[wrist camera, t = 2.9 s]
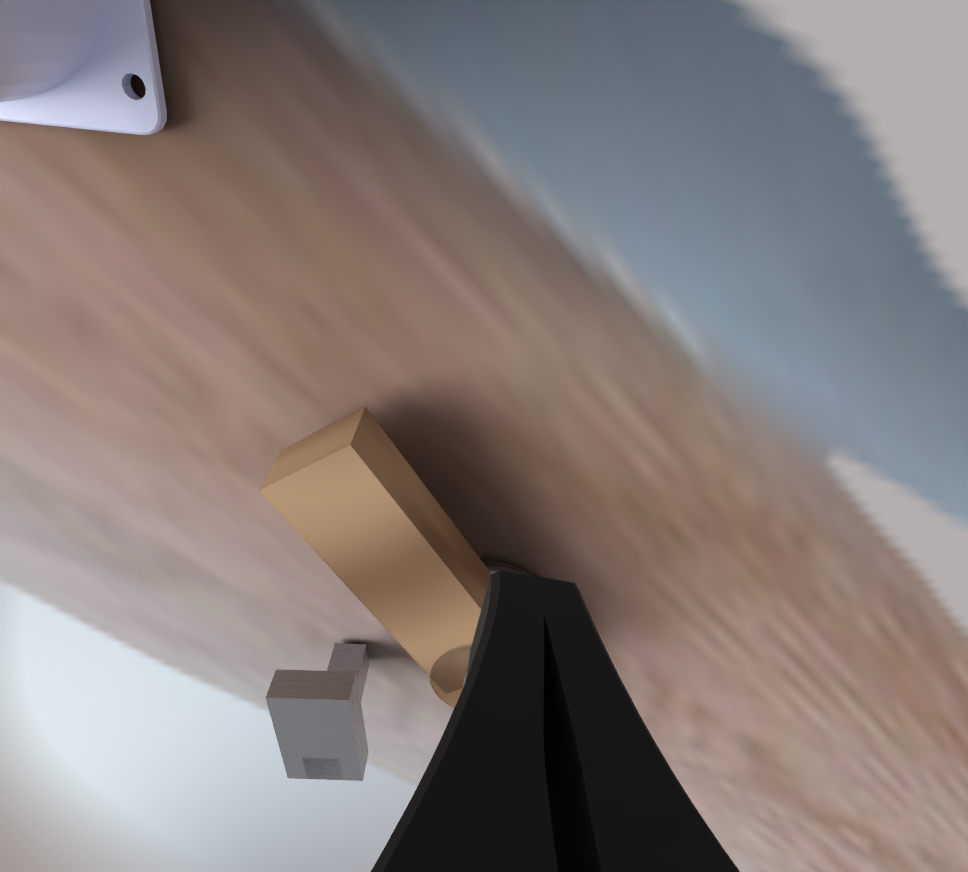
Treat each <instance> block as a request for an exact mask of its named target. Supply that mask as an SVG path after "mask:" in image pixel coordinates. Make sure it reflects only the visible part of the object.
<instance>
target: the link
mask: <svg viewBox="0 0 968 872" xmlns="http://www.w3.org/2000/svg"><path fill="white" fill-rule="evenodd" d="M259 491H260V492H261V493H262V494H263V495H264V496H265V498H266V499H267V500H268V501H269V502H270V503H271V504H272V505H273V506H274V507H275V508H276V510H277V511H278V512H279V513H280V514H281V515H282V516H283V517H284V518H285V519H286V520H287V521H288V523H289V524H290V525H291V526H292V527H293V528H294V529H295V530H296V531H297V532H298V533H299V535H300V536H301V537H302V538H303V539H304V540H305V541H306V542H307V543H308V544H309V545H310V547H311V548H312V549H313V550H314V551H315V552H316V553H317V554H318V555H319V556H320V557H321V558H322V560H323V561H324V562H325V563H326V564H327V565H328V566H329V567H330V568H331V569H332V570H333V572H334V573H335V574H336V575H337V576H338V577H339V578H340V579H341V580H342V581H343V582H344V583H345V585H346V586H347V587H348V588H349V589H350V590H351V591H352V592H353V593H354V594H355V595H356V597H357V598H358V599H359V600H360V601H361V602H362V603H363V604H364V605H365V606H366V607H367V609H368V610H369V611H370V612H371V613H372V614H373V615H374V616H375V617H376V618H377V619H378V620H379V622H380V623H381V624H382V625H383V626H384V627H385V628H386V629H387V630H388V631H389V632H390V634H391V635H392V636H393V637H394V638H395V639H396V640H397V641H398V642H399V643H400V644H401V646H402V647H403V648H404V649H405V650H406V651H407V652H408V653H409V654H410V655H411V656H412V657H413V659H414V660H415V661H416V662H417V663H418V664H419V665H420V666H421V667H422V668H423V669H424V671H425V672H426V673H427V674H428V675H429V676H430V682H431V686H432V688H433V690H434V692H435V693H436V694H437V696H438V697H439V698H440V699H441V700H443V701H444V702H445V703H447V704H448V705H450V706H452V707H454V708H455V706H456V704H457V701H458V699H459V696H460V694H461V692H462V689H463V687H464V684H465V682H466V676H467V671H468V664H469V656H470V649H471V646H472V642H473V638H474V635H475V631H476V627H477V624H478V620H479V616H480V613H481V609H482V605H483V602H484V598H485V594H486V591H487V587H488V583H489V580H490V576H491V573H490V571H489V570H488V569H487V567H486V566H485V565H484V563H483V562H482V561H481V559H480V558H479V557H478V555H477V554H476V553H475V551H474V550H473V549H472V547H471V546H470V545H469V543H468V542H467V541H466V539H465V538H464V537H463V535H462V534H461V533H460V531H459V530H458V529H457V527H456V526H455V525H454V523H453V522H452V521H451V520H450V518H449V517H448V516H447V514H446V513H445V512H444V510H443V509H442V508H441V506H440V505H439V504H438V502H437V501H436V500H435V498H434V497H433V496H432V494H431V493H430V492H429V490H428V489H427V488H426V486H425V485H424V484H423V482H422V481H421V480H420V478H419V477H418V476H417V474H416V473H415V472H414V470H413V469H412V468H411V466H410V465H409V464H408V462H407V461H406V460H405V459H404V457H403V456H402V455H401V453H400V452H399V451H398V449H397V448H396V447H395V445H394V444H393V443H392V441H391V440H390V439H389V437H388V436H387V435H386V433H385V432H384V431H383V429H382V428H381V427H380V425H379V424H378V423H377V421H376V420H375V419H374V417H373V416H372V415H371V413H370V412H369V411H368V409H367V408H366V407H363V408H361V409H359V410H357V411H356V412H354V413H352V414H350V415H348V416H346V417H344V418H342V419H340V420H338V421H336V422H334V423H332V424H330V425H329V426H327V427H325V428H323V429H321V430H319V431H317V432H315V433H313V434H311V435H309V436H307V437H305V438H303V439H301V440H300V441H298V442H296V443H294V444H292V445H290V446H288V447H286V448H284V449H282V450H281V452H280V454H279V456H278V457H277V459H276V461H275V463H274V465H273V466H272V468H271V470H270V472H269V474H268V475H267V477H266V479H265V481H264V483H263V484H262V486H261V488H260V490H259Z"/></svg>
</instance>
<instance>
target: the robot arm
mask: <svg viewBox="0 0 968 872" xmlns="http://www.w3.org/2000/svg"><path fill="white" fill-rule="evenodd" d="M134 74H135V75H138V76H139V77H140V78H141V79H142V81H143V82H144V85H145V87H146V92H145V96H144V97H143V98H141V97H138V96H137V95H136V94H135V93H134V91H133V89H132V87H131V77H132V76H133V75H134ZM0 120H1V121H11V122H21V123H30V124H40V125H50V126H60V127H69V128H79V129H89V130H99V131H108V132H118V133H128V134H138V135H148V134H154V133H157V132H159V131H160V130H162V129H163V128H164V126H165V124H166V121H167V110H166V103H165V97H164V90H163V84H162V77H161V71H160V64H159V57H158V51H157V44H156V38H155V31H154V25H153V18H152V12H151V5H150V0H0ZM371 872H740V871H739V870H738V868H737V867H736V866H735V864H734V863H733V861H732V860H731V859H730V857H729V856H728V854H727V853H726V852H725V850H724V849H723V848H722V846H721V845H720V843H719V842H718V840H717V839H716V837H715V836H714V834H713V833H712V831H711V830H710V828H709V827H708V826H707V824H706V823H705V821H704V820H703V818H702V817H701V815H700V814H699V812H698V811H697V809H696V808H695V806H694V805H693V803H692V802H691V800H690V799H689V797H688V795H687V794H686V792H685V791H684V789H683V788H682V786H681V784H680V783H679V781H678V780H677V778H676V776H675V775H674V773H673V772H672V770H671V768H670V766H669V765H668V763H667V761H666V760H665V758H664V756H663V755H662V753H661V751H660V750H659V748H658V746H657V745H656V743H655V741H654V740H653V738H652V736H651V734H650V733H649V731H648V729H647V727H646V725H645V724H644V722H643V720H642V718H641V717H640V715H639V713H638V711H637V709H636V707H635V705H634V703H633V701H632V700H631V698H630V696H629V694H628V692H627V690H626V688H625V686H624V685H623V683H622V681H621V679H620V677H619V675H618V673H617V671H616V669H615V667H614V665H613V663H612V661H611V659H610V657H609V655H608V653H607V651H606V649H605V647H604V644H603V642H602V640H601V638H600V636H599V634H598V632H597V630H596V627H595V625H594V623H593V621H592V619H591V616H590V614H589V612H588V610H587V607H586V605H585V603H584V600H583V598H582V596H581V593H580V591H579V589H578V588H577V586H576V585H575V583H571V582H565V581H559V580H554V579H548V578H542V577H536V576H530V575H524V574H518V573H512V572H506V571H500V570H499V571H497V572H495V573H493V574H491V576H490V580H489V583H488V587H487V591H486V594H485V598H484V602H483V605H482V609H481V613H480V616H479V620H478V624H477V627H476V631H475V635H474V638H473V642H472V646H471V649H470V656H469V664H468V671H467V676H466V682H465V684H464V687H463V689H462V692H461V694H460V696H459V699H458V701H457V704H456V706H455V708H454V711H453V713H452V715H451V718H450V720H449V722H448V725H447V727H446V729H445V732H444V734H443V736H442V738H441V740H440V742H439V744H438V747H437V749H436V751H435V753H434V755H433V757H432V759H431V761H430V763H429V765H428V767H427V769H426V771H425V773H424V775H423V777H422V779H421V781H420V783H419V785H418V787H417V789H416V791H415V793H414V795H413V797H412V799H411V800H410V802H409V804H408V806H407V808H406V810H405V812H404V813H403V815H402V817H401V819H400V821H399V822H398V824H397V826H396V828H395V830H394V832H393V833H392V835H391V837H390V839H389V841H388V843H387V844H386V846H385V848H384V850H383V851H382V853H381V855H380V857H379V859H378V860H377V862H376V864H375V865H374V867H373V869H372V870H371Z"/></svg>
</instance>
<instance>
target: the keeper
mask: <svg viewBox="0 0 968 872" xmlns="http://www.w3.org/2000/svg"><path fill="white" fill-rule="evenodd" d="M368 667H369V661H368V654H367V647H366V644H339V643H335V645H334V649H333V652H332V656H331V659H330V662H329V666H328V669H327V671H305V670H276V671H275V674H274V677H273V679H272V682H271V685H270V688H269V690H268V693H267V696H266V700H267V704H268V708H269V711H270V715H271V718H272V722H273V726H274V729H275V733H276V737H277V740H278V743H279V747H280V751H281V755H282V758H283V762H284V765H285V769H286V773H287V776H288V778H298V779H328V780H357V781H358V780H359V781H363V777H364V772H365V767H366V762H367V757H368V746H367V740H366V733H365V727H364V721H363V714H362V708H361V699H362V694H363V690H364V685H365V681H366V676H367V672H368Z"/></svg>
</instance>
